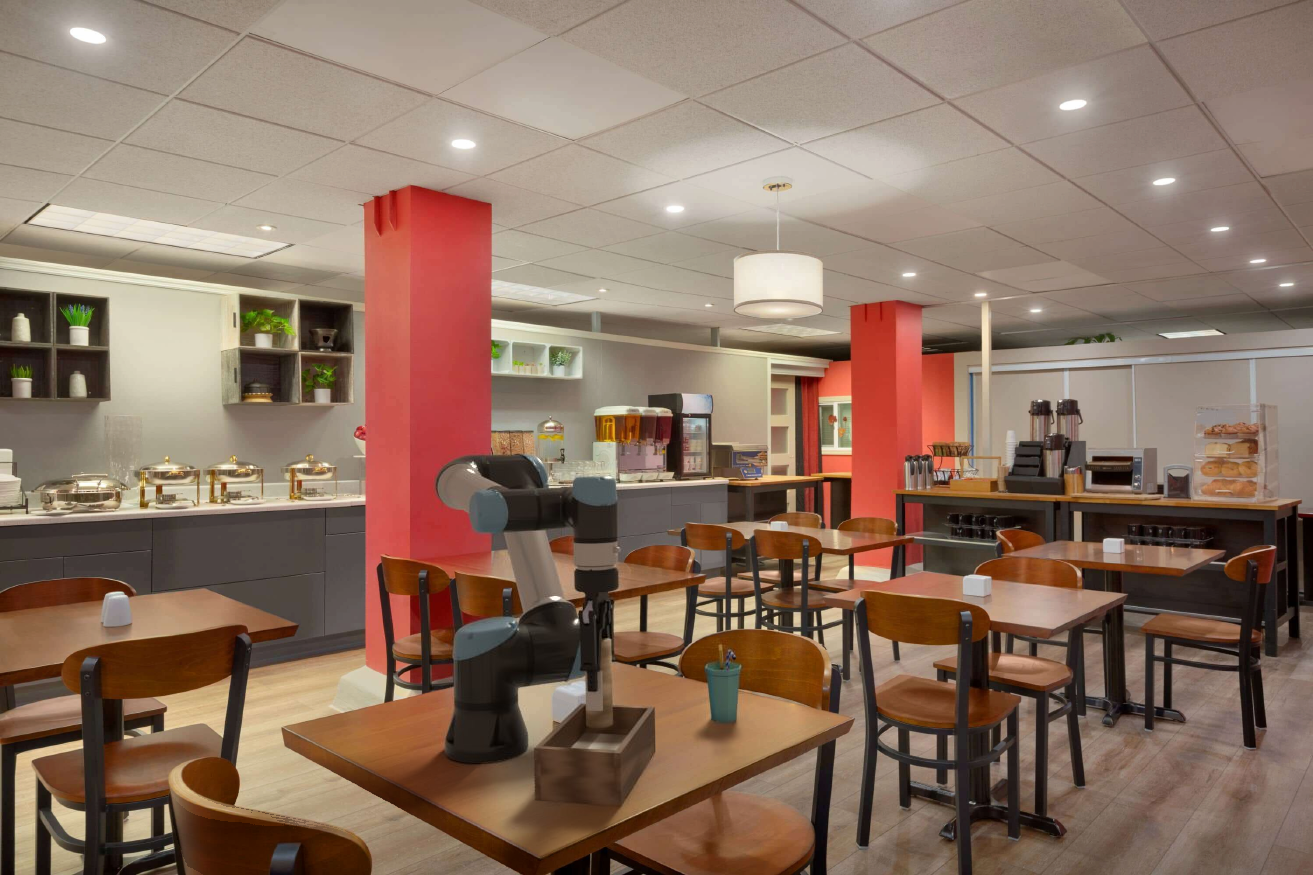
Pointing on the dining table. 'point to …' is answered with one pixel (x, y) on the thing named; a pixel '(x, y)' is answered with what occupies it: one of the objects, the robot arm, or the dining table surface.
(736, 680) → the cup
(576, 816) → the dining table surface
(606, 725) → the peg
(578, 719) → the crate
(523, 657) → the robot arm
